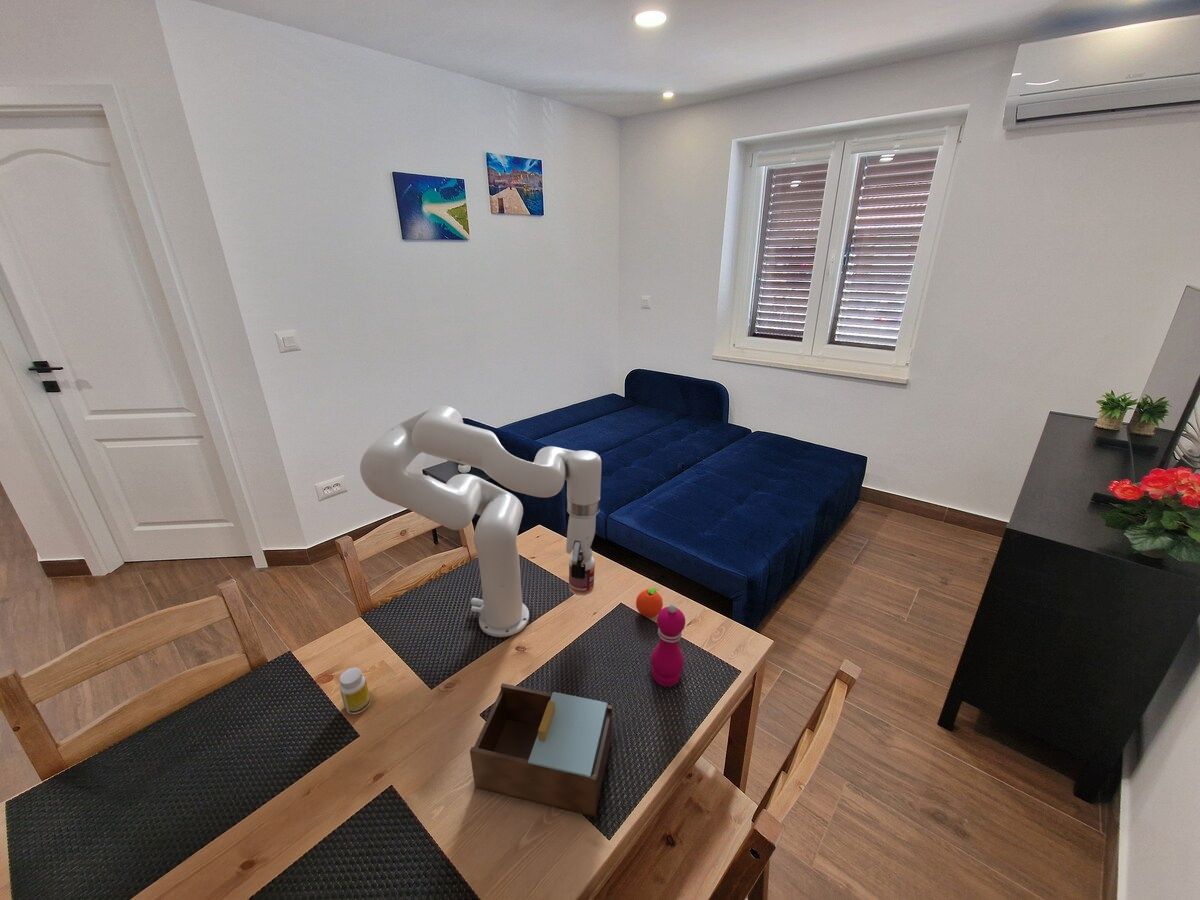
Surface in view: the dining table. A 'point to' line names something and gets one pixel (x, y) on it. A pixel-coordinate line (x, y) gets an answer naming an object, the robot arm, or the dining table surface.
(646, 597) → the clementine
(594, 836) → the dining table surface
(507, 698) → the case
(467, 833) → the dining table surface
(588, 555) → the pill bottle
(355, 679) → the supplement bottle
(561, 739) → the sliding box lid
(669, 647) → the pepper mill
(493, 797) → the dining table surface
